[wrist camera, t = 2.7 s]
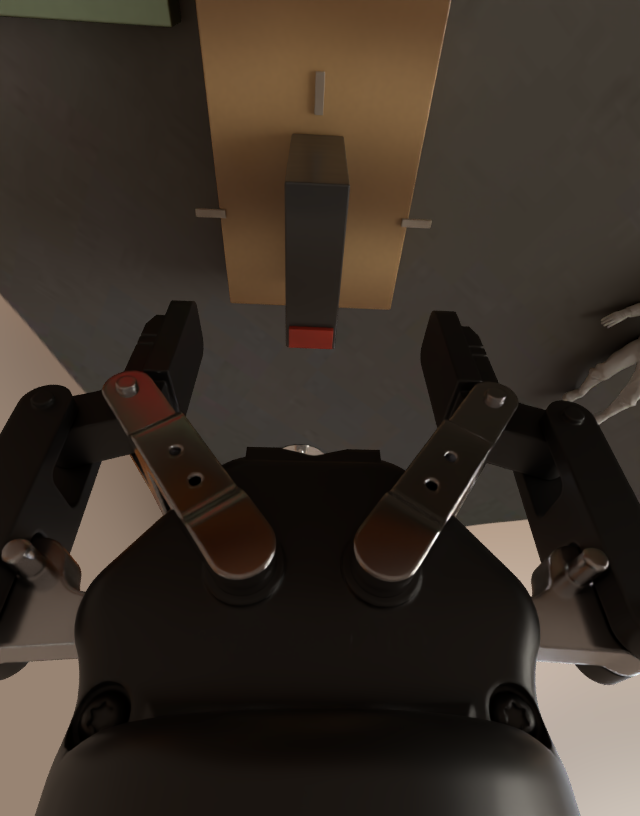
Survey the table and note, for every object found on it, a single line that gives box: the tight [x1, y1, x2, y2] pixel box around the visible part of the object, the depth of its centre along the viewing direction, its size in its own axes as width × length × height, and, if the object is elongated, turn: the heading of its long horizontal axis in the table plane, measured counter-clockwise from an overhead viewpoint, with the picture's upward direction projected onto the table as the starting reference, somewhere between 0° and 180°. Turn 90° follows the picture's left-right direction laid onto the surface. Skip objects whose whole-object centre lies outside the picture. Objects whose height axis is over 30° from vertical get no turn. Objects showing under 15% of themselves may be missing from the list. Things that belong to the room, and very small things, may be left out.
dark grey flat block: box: [284, 133, 350, 349], centre depth 19 cm, size 7×2×6 cm, turn 177°
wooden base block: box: [195, 0, 451, 310], centre depth 21 cm, size 14×11×3 cm
